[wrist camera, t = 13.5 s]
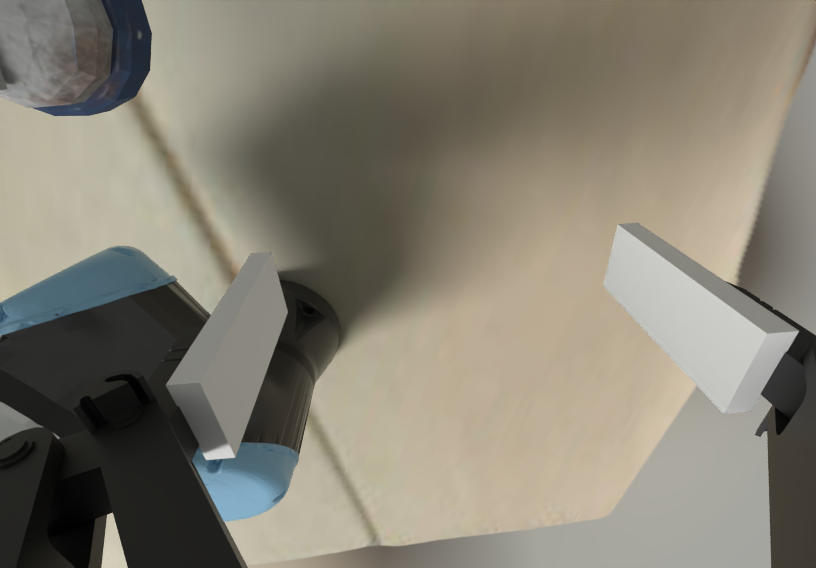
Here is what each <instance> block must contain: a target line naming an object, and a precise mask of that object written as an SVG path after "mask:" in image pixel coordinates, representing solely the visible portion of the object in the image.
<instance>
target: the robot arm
mask: <svg viewBox="0 0 816 568" xmlns="http://www.w3.org/2000/svg"><path fill="white" fill-rule="evenodd" d="M603 287H604V288H605V289H606V290H607V291H608V292H609V293H610V294H611V295H612V296H613V297H614V298H615V299H616V300H617V301H618V302H619V303H620V305H621V306H622V307H623V308H624V309H625V310H626V311H627V312H628V313H629V314H630V315H631V316H632V317H633V318H634V319H635V320H636V321H637V323H638V324H639V325H640V326H641V327H642V328H643V329H644V330H645V331H646V332H647V333H648V334H649V335H650V336H651V337H652V338H653V340H654V341H655V342H656V343H657V344H658V345H659V346H660V347H661V348H662V349H663V350H664V351H665V352H666V353H667V354H668V355H669V356H670V358H671V359H672V360H673V361H674V362H675V363H676V364H677V365H678V366H679V367H680V368H681V369H682V370H683V371H684V372H685V373H686V374H687V376H688V377H689V378H690V379H691V380H692V381H693V382H694V383H695V384H696V385H697V386H698V387H699V388H700V389H701V390H702V391H703V392H704V394H705V395H706V396H707V397H708V398H709V399H710V400H711V401H712V402H713V403H714V404H715V405H716V406H717V407H718V408H719V409H720V411H721V412H722V413H723V414H728V413H740V412H750V411H752V410H753V408H754V406H755V405H756V402H757V401H758V400H759V398H760V396H761V395H762V396H763V397H765V398H766V399H767V400H768V401H769V402H770V403H771V404H772V407H771V408H770V410H769V412H768V413H767V415H766V417H765V418H764V420H763V421H762V423H761V424H760V426H759V428H758V429H757V431H756V434H755V435H757V436H761V435H762V433H763V432H764V431H767V434H768V469H769V501H770V534H771V535H770V536H771V568H816V336H815V335H814V334H813V333H811V332H810V331H808V330H806V329H805V328H803V327H802V326H800V325H799V324H797V323H796V322H794V321H793V320H791V319H790V318H788V317H787V316H785V315H784V314H782V313H780V312H779V311H777V310H773V308H772V307H771V306H770V305H768V304H767V303H765V302H764V301H760V299H759V298H757V297H756V296H754V295H753V294H751V293H750V292H748V291H747V290H745V289H743V288H741V287H738V286H736V285H733V284H731V283H728V282H726V281H724V280H722V279H721V278H719V277H718V276H716V275H715V274H713V273H712V272H710V271H709V270H707V269H706V268H704V267H703V266H701V265H700V264H698V263H697V262H695V261H694V260H692V259H691V258H689V257H688V256H686V255H685V254H683V253H682V252H680V251H679V250H677V249H676V248H674V247H673V246H672V245H670V244H669V243H667V242H666V241H664V240H663V239H661V238H660V237H658V236H657V235H655V234H654V233H652V232H651V231H649V230H648V229H646V228H645V227H643V226H642V225H640V224H639V223H628V224H618V225H617V229H616V233H615V238H614V242H613V246H612V250H611V254H610V259H609V263H608V267H607V271H606V275H605V279H604V284H603ZM339 337H340V326H339V322H338V319H337V316H336V314H335V312H334V311H333V309H332V308H331V306H330V305H329V304H328V303H327V302H326V301H325V300H324V299H323V298H322V297H321V296H319V295H318V294H316V293H315V292H313V291H312V290H310V289H308V288H306V287H304V286H301V285H298V284H295V283H292V282H287V281H280V280H279V277H278V274H277V270H276V266H275V263H274V259H273V255H272V252H265V253H252V254H250V256H249V257H248V259H247V261H246V262H245V264H244V265H243V267H242V268H241V270H240V271H239V273H238V274H237V276H236V278H235V279H234V281H233V282H232V284H231V285H230V287H229V288H228V290H227V291H226V293H225V294H224V296H223V298H222V299H221V301H220V302H219V304H218V305H217V307H216V308H215V310H214V311H213V313H212V315H210V314H209V313H208V312H207V311H206V310H205V309H204V308H203V307H202V306H201V305H200V304H199V303H198V302H197V301H196V300H195V299H194V298H193V297H192V296H191V295H190V294H189V293H188V292H187V291H186V290H185V289H184V288H183V287H182V286H181V285H180V284H179V283H178V282H177V279H176V277H174V276H170V275H169V274H168V273H166V272H165V271H164V270H163V269H162V268H161V267H159V266H158V265H157V264H156V263H155V262H153V261H152V260H151V259H150V258H149V257H148V256H147V255H146V254H144V253H143V252H142V251H140V250H138V249H136V248H133V247H129V246H115V247H111V248H108V249H106V250H103V251H101V252H99V253H97V254H95V255H93V256H91V257H89V258H87V259H85V260H83V261H81V262H79V263H77V264H75V265H73V266H71V267H69V268H67V269H65V270H63V271H61V272H59V273H57V274H55V275H53V276H51V277H49V278H47V279H45V280H43V281H41V282H39V283H37V284H35V285H33V286H31V287H29V288H27V289H25V290H23V291H21V292H20V293H18V294H16V295H14V296H12V297H10V298H8V299H6V300H4V301H3V302H1V303H0V568H101V564H102V555H103V546H104V537H105V528H106V518H107V514H110V513H112V512H113V514H114V518H115V522H116V525H117V529H118V533H119V536H120V540H121V544H122V547H123V551H124V555H125V558H126V562H127V566H128V568H248V567H247V565H246V563H245V561H244V560H243V558H242V556H241V554H240V552H239V550H238V548H237V546H236V544H235V542H234V540H233V538H232V536H231V534H230V533H229V531H228V529H227V527H226V525H225V523H224V521H234V520H240V519H245V518H250V517H253V516H256V515H259V514H261V513H263V512H266V511H268V510H269V509H271V508H272V507H274V506H275V505H276V504H277V503H279V502H280V501H281V499H282V498H283V497H284V495H285V494H286V492H287V490H288V487H289V484H290V481H291V478H292V475H293V471H294V468H295V466H296V465H297V463H298V460H299V453H300V449H301V444H302V439H303V435H304V430H305V426H306V421H307V416H308V412H309V407H310V403H311V398H312V394H313V389H314V385H315V383H316V381H317V380H318V379H319V377H320V376H321V375H322V373H323V372H324V370H325V369H326V368H327V366H328V365H329V364H330V362H331V361H332V359H333V358H334V356H335V353H336V351H337V347H338V342H339Z"/></svg>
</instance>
